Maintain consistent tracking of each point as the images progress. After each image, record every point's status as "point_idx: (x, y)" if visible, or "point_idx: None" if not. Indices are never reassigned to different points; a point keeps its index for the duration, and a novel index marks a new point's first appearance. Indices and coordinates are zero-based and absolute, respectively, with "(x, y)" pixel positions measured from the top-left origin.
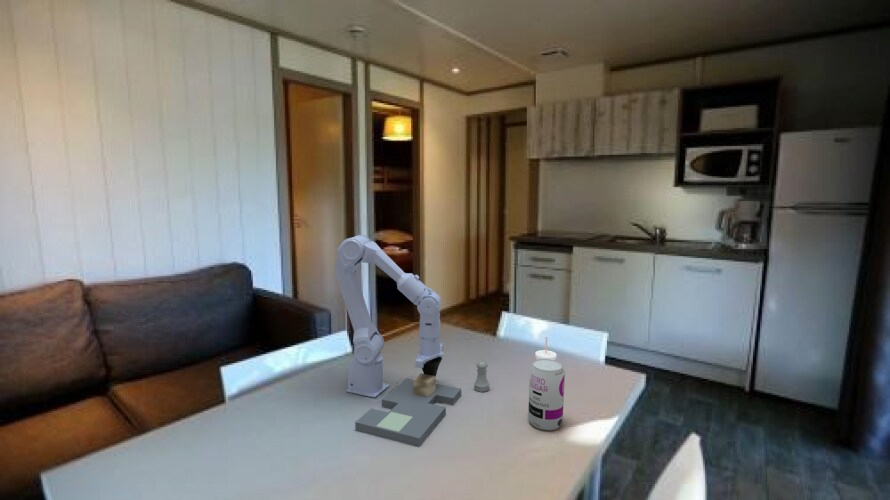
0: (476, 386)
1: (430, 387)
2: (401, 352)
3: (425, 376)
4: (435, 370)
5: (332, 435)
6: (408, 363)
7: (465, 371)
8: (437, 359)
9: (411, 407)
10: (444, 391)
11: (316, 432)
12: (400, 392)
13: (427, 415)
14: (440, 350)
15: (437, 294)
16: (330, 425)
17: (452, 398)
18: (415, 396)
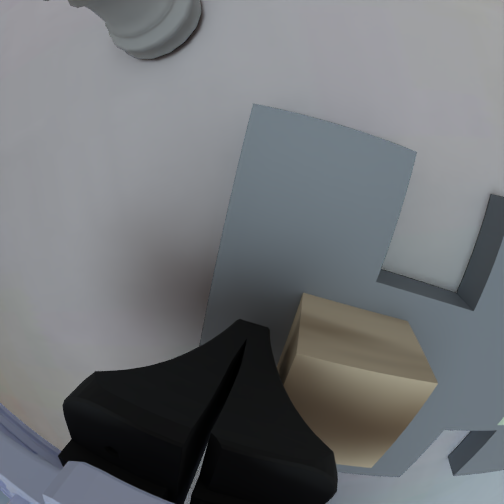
0: (180, 28)
1: (394, 344)
2: (16, 395)
3: (312, 421)
4: (243, 380)
5: (500, 473)
6: (49, 388)
7: (19, 160)
8: (177, 464)
9: (493, 374)
10: (322, 225)
11: (476, 496)
12: None
13: None
14: (28, 500)
15: None
16: (460, 494)
17: (415, 156)
18: None
